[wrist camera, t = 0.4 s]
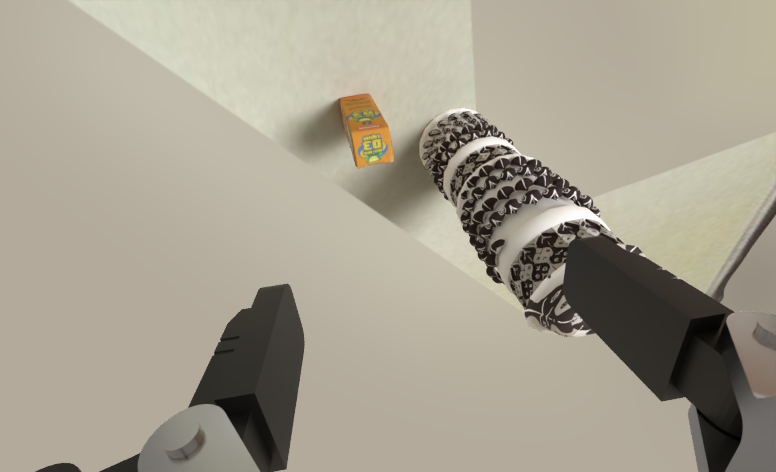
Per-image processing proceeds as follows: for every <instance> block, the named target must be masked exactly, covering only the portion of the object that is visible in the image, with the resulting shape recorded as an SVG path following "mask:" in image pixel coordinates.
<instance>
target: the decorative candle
mask: <svg viewBox="0 0 776 472" xmlns="http://www.w3.org/2000/svg"><path fill="white" fill-rule="evenodd" d="M419 156H420V158H421V160H422V163H423V165H424V167H425V169H426V170H428V171H429V176H431V177H433V178H434V183H435V184H436V185H438V186H439V191H440V192H441V193H444V198H445V199H446V200H448V201H450V202H451V203H452V205H453V206H454V207H456V208H457V210H456V213H457V215H458V217H459V219H460V222H461V224H462V226H463V230H464V231H465V232H466V233H468V234H469V236H470V244H471V245H472V246H475V249H476V251H477V252H478V257H479V259H480V260H482V261H484V262H485V264H486V266H487V270H486V272H487V275H488V276H489V277H492V279H493V281H494V282H496V283H503V284H505V285H506V287H507V288H508V290H509V291H510V292H511V293H513V294H514V295H516V297H517V298H518V300H519V302H520V303H521V304H522V306H523V308H524V309H525V310H526V311H525V317H526V319H527V322H528V325H529V326H530V327H532V328H534V329H537V330H538V331H540V332H555V333H557V334H559V335H561V336H564V337H582V336H586V335H589V334H594V333H595V332H594V331H593V330H592V329H591V328H590V327H589V326H588V325H587V324H586V323H585V322H584V321H583V319H582V318H581V317H580V316H579V315H578V314H577V313H576V312H575V311H574V310H573V309H572V308H571V307H570V306H569V304H568V303H567V301H566V299H565V296H564V293H563V280H564V273H565V265H566V258H567V251H568V246H569V243H570V242H571V241H572V240H574V239H580V238H586V237H593V236H604V237H606V238H607V239H609V240H611V241H612V242H614V243H615V244H617V245H619V246H620V247H622V248H623V249H625V250H627V251H629V252H632V253H635V254H638V255H640V256H643V257H646V256H645V255H644V254H643V253H642V251H641V250H640V249H639V248H638V247H637V246H631V245H625V244H624V243H623V242H622V241H621V240H620V239H619V238H617V236H615V235H614V234H613V233H612V232H611V231H610V229H609V228H608V227H607V225H606V224H605V223H604V222H603V221H602V220H601V219H600V218H599V217H600V211H599V209H598V208H597V207H594V206H593V200H592V199H591V198H590V197H589V196H587V195H581V196H580V191H579V189H578V188H576V187H574V186H571V187H569V182H568V181H567V180H565V179H561V177H560V176H559V175H557V174H552V172H551V170H550V169H549V168H548V167H541V162H540V161H539V160H537V159H534V158H532V157H529V156H525V155H522V154H520V153H519V152H518V151H517V150H516V149H515V148H514V147H513V142H512V140H511V139H509V138H505V134H504V133H503V132H498V129H497V128H496V127H495V126H494V125H491V124H490V122H489V120H487V119H484V118H483V116H482V115H481V114H478V113H477V112H476V111H474V110H470V109H467V108H464V107H461V108H454V109H448V110H446V111H445V112H443V113H441V114H440V115H438V116H436V117H435V118H434V119H433V120H432V121H431V122H430V123H429V125H428V126H427V127H426V128H425V129H424V132H423V135H422V137H421V140H420V142H419ZM570 199H571V200H573V201H574V203H573V202H572V201H571V200H570ZM477 238H478V240H477ZM494 267H497V269H498V272H499V273H498V272H497V271H495V270H496V269H494Z"/></svg>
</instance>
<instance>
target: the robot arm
mask: <svg viewBox="0 0 776 472" xmlns="http://www.w3.org/2000/svg"><path fill="white" fill-rule="evenodd" d="M563 293H564V296H565V299H566V301H567V303H568V304H569V306H570V307H571V308H572V309H573V310H574V311H575V312H576V313H577V314H578V315H579V316H580V317H581V318H582V319H583V321H584V322H585V323H586V324H587V325H588V326H589V327H590V328H591V329H592V330H593V331H594V332H595V333H596V334H597V335H598V336H599V337H600V338H601V339H602V340H603V341H604V342H605V343H606V344H607V345H608V346H609V347H610V348H611V350H612V351H613V352H614V353H615V354H616V355H617V356H618V357H619V358H620V359H621V360H622V361H623V362H624V363H625V364H626V365H627V366H628V367H629V368H630V369H631V370H632V371H633V372H634V373H635V374H636V375H637V377H638V378H639V379H640V380H641V381H642V382H643V383H644V384H645V385H646V386H647V387H648V388H649V389H650V390H651V391H652V392H653V393H654V394H655V395H656V396H657V397H658V398H659V399H660V400H661V401H666V400H672V399H677V398H683V397H686V398H687V399H688V400H689V401H690V402H691V406H690V408H689V411H688V417H689V423H690V429H691V434H692V439H693V445H694V450H695V456H696V461H697V467H698V472H776V315H774V314H770V313H766V312H759V311H738V312H733V311H732V310H730V309H729V308H727V307H725V306H724V305H722V304H720V303H719V302H717V301H716V300H714V299H712V298H711V297H709V296H707V295H706V294H704V293H703V292H701V291H699V290H698V289H696V288H694V287H693V286H691V285H690V284H688V283H686V282H685V281H683V280H681V279H677V277H676V276H675V275H673V274H672V273H670V272H668V271H667V270H662V267H660V266H659V265H657V264H655V263H654V262H652V261H650V260H649V259H647V258H646V257H643V256H640V255H638V254H635V253H632V252H629V251H627V250H625V249H623V248H622V247H620V246H619V245H617V244H615V243H614V242H612V241H611V240H609V239H607V238H606V237H604V236H593V237H586V238H580V239H574V240H572V241H571V242H570V243H569V246H568V251H567V258H566V265H565V273H564V280H563ZM220 340H221V342H219V343H218V345H217V347H216V350H215V352H214V356H212V358H211V360H210V362H209V364H208V367H207V369H206V371H205V373H204V375H203V377H202V379H201V381H200V384H199V386H198V388H197V390H196V392H195V394H194V396H193V398H192V401H191V403H190V405H189V407H188V408H187V409H185V410H183V411H181V412H179V413H177V414H176V415H174V416H173V417H171V418H170V419H168V420H167V421H166V422H164V423H163V424H162V425H161V426H160V427H159V428H158V429H157V430H156V431H155V432H154V433H153V434H152V435H151V437H150V438H149V439H148V441H147V442H146V444H145V445H144V447H143V449H142V451H141V453H139V454H137V455H135V456H133V457H131V458H129V459H127V460H124V461H122V462H120V463H118V464H116V465H113V466H111V467H109V468H106V469H104V470H102V471H100V472H274V471H279V470H284V469H286V468H287V460H288V454H289V448H290V440H291V434H292V427H293V421H294V414H295V407H296V401H297V394H298V387H299V381H300V374H301V367H302V360H303V354H304V333H303V328H302V324H301V321H300V317H299V314H298V310H297V307H296V303H295V300H294V297H293V293H292V290H291V287H290V286H289V284H283V285H276V286H270V287H264V288H260V289H259V290H258V292H257V295H256V297H255V300H254V302H253V305H252V307H251V308H248V309H242V310H241V311H240V312H239V313H238V314H237V315H236V316H235V317H234V318H233V319H232V320H231V321H230V322H229V323H228V324H227V326H226V328H225V330H224V333H223V335H222V337H221V339H220ZM36 472H81V470H79V468H78V467H77V466H75V465H74V464H70V463H60V464H55V465H51V466H48V467H45V468H43V469H40V470H38V471H36Z"/></svg>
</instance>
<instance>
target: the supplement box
mask: <svg viewBox="0 0 776 472" xmlns="http://www.w3.org/2000/svg"><path fill="white" fill-rule="evenodd" d="M340 105H341V112H342V119H343V125H344V129H345V132H346V135H347V138H348V141H349V144H350V148H351V151H352V154H353V158H354V161H355V165H356V167H357V168H362V167H365V166H366V165H371V164H378V163H390V162H394V154H393V148H392V142H391V137H390V131H389V127H388V125H387V123H386V122H385V120H384V118H383V116H382V115H381V113H380V111H379V109H378V108H377V106H376V104H375V102H374V101H373V99H372V97H371V96H370V94H362V95H355V96H349V97H343V98H340Z"/></svg>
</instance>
